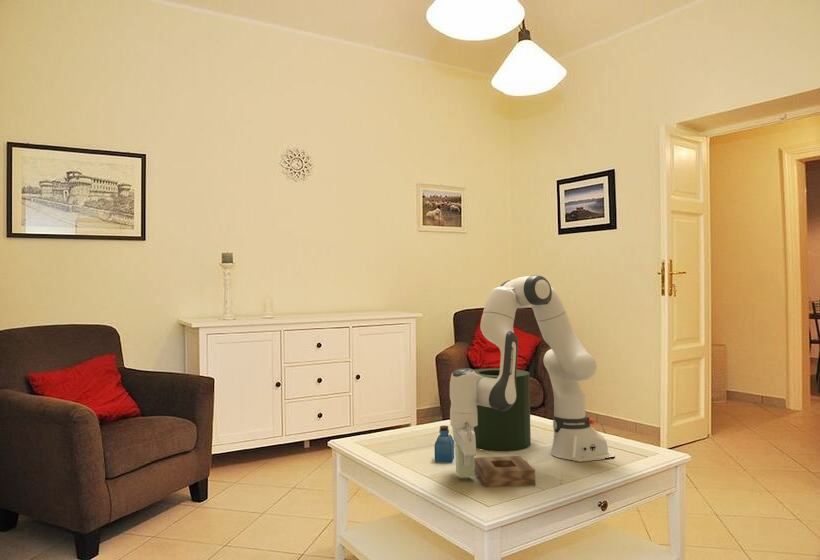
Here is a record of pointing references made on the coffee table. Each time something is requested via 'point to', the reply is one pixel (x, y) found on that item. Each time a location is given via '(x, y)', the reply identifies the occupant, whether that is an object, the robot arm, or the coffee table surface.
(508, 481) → the walnut stand
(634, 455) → the coffee table surface
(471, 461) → the sage plug
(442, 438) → the perfume bottle
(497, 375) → the flower pot
